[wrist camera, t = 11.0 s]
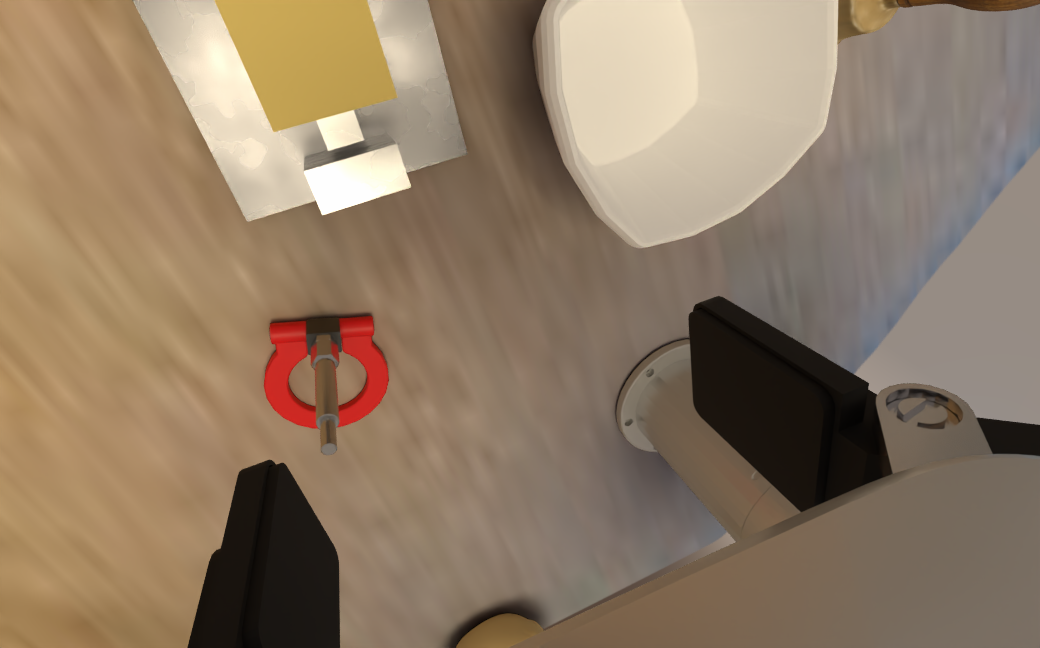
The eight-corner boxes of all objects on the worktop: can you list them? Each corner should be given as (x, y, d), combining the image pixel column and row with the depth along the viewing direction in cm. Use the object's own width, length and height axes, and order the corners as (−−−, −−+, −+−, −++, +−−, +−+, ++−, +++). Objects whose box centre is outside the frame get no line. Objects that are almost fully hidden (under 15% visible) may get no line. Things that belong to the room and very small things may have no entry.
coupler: (365, -225, 25) (377, -283, 21) (464, 152, 34) (487, 166, 30) (46, -176, 22) (-18, -229, 18) (248, 218, 32) (239, 245, 27)
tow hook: (388, 411, 42) (384, 309, 37) (414, 544, 31) (414, 425, 27) (273, 426, 39) (255, 318, 35) (260, 578, 29) (231, 451, 24)
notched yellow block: (327, -80, 26) (332, -111, 21) (382, 89, 30) (397, 97, 25) (204, -55, 25) (178, -80, 20) (279, 117, 29) (273, 132, 24)
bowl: (751, 123, 41) (855, 142, 33) (563, 245, 40) (624, 293, 32) (696, -151, 31) (826, -218, 23) (445, 1, 30) (493, -15, 22)
